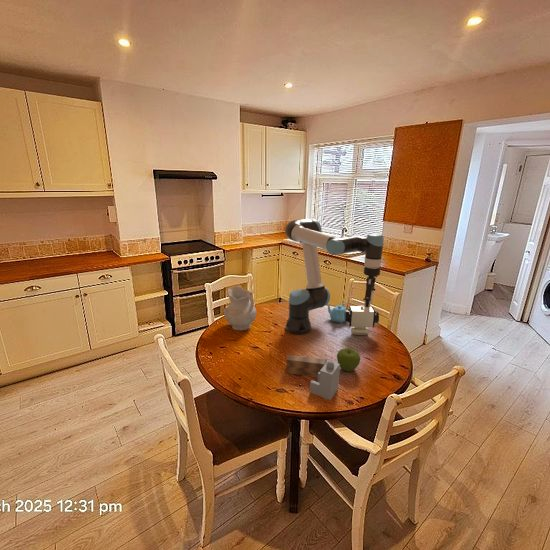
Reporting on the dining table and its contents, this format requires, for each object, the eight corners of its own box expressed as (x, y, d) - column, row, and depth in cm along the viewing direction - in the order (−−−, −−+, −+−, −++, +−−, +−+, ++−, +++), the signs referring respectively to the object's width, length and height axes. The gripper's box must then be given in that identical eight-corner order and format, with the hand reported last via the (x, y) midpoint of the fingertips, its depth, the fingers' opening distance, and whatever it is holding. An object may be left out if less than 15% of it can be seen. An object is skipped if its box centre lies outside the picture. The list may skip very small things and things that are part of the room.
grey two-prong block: (310, 392, 124) (311, 362, 120) (318, 381, 131) (320, 352, 127) (330, 400, 119) (332, 369, 115) (338, 388, 126) (340, 358, 122)
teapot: (352, 324, 185) (353, 309, 182) (332, 326, 183) (333, 310, 180) (343, 315, 197) (344, 301, 194) (324, 317, 195) (325, 302, 192)
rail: (286, 372, 137) (286, 359, 135) (287, 367, 141) (287, 354, 139) (325, 378, 133) (326, 364, 131) (326, 372, 137) (327, 359, 135)
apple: (334, 362, 145) (335, 344, 142) (356, 362, 145) (357, 344, 142) (338, 376, 135) (339, 356, 132) (361, 376, 134) (363, 357, 131)
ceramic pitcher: (265, 327, 184) (266, 288, 178) (246, 337, 168) (246, 295, 162) (238, 319, 195) (238, 282, 189) (217, 328, 179) (217, 288, 173)
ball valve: (373, 331, 176) (376, 303, 171) (377, 338, 168) (380, 309, 162) (342, 330, 177) (344, 302, 172) (344, 336, 169) (346, 307, 164)
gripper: (378, 274, 131) (373, 318, 137) (382, 261, 153) (378, 300, 159) (360, 272, 133) (356, 315, 140) (367, 259, 155) (363, 297, 162)
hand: (368, 307), depth 149 cm, fingers open, 13 cm apart
